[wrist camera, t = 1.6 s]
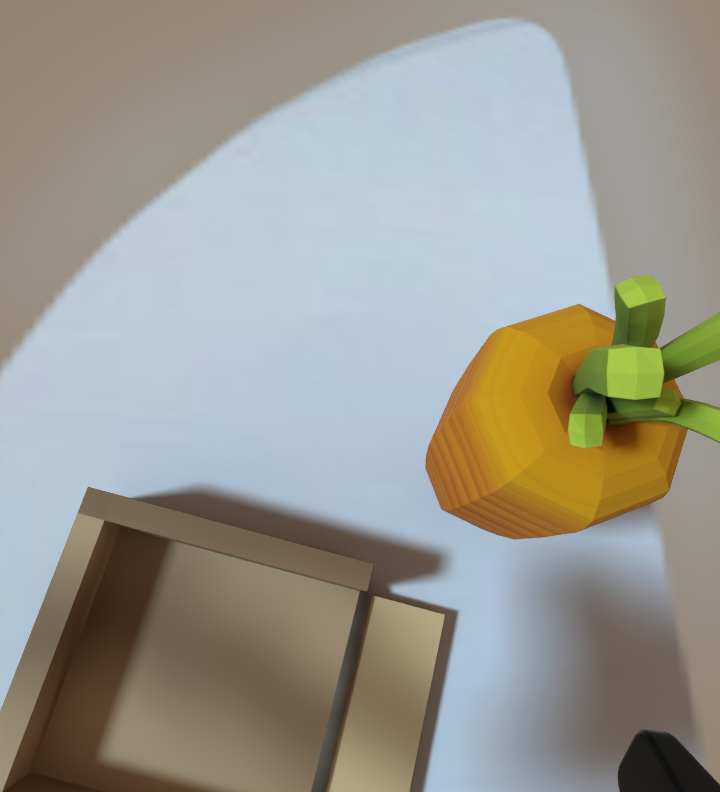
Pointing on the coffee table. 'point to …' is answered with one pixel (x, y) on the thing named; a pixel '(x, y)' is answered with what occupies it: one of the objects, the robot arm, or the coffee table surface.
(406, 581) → the coffee table surface
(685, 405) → the carrot
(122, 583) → the wooden tray
